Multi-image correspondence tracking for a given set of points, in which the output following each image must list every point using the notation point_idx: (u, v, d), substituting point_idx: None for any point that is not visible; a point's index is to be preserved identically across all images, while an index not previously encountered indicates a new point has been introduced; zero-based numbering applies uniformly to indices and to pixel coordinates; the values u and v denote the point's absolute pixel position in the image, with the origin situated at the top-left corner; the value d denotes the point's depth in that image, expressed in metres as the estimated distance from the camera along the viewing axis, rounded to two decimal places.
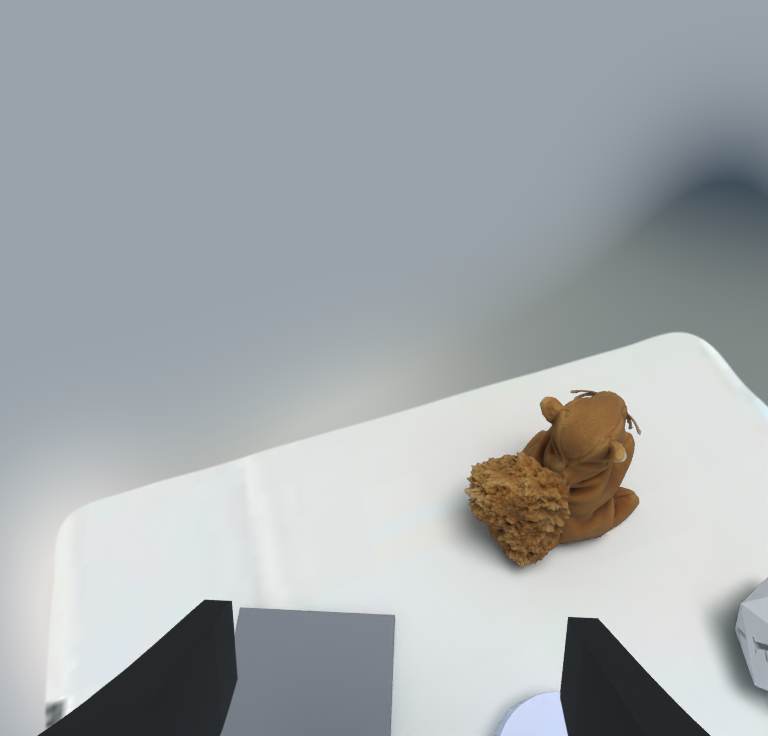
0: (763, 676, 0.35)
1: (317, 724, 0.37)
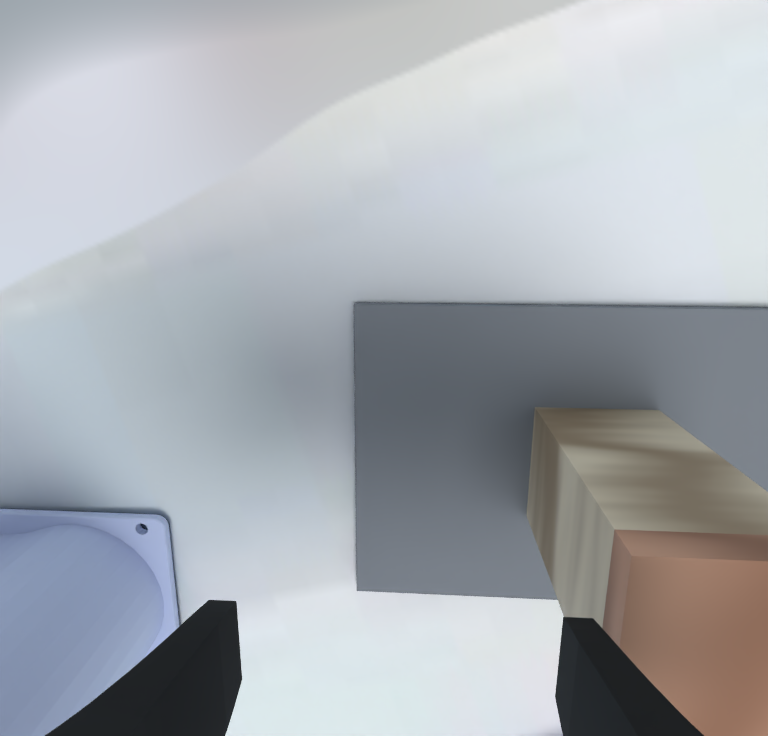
0: None
1: None
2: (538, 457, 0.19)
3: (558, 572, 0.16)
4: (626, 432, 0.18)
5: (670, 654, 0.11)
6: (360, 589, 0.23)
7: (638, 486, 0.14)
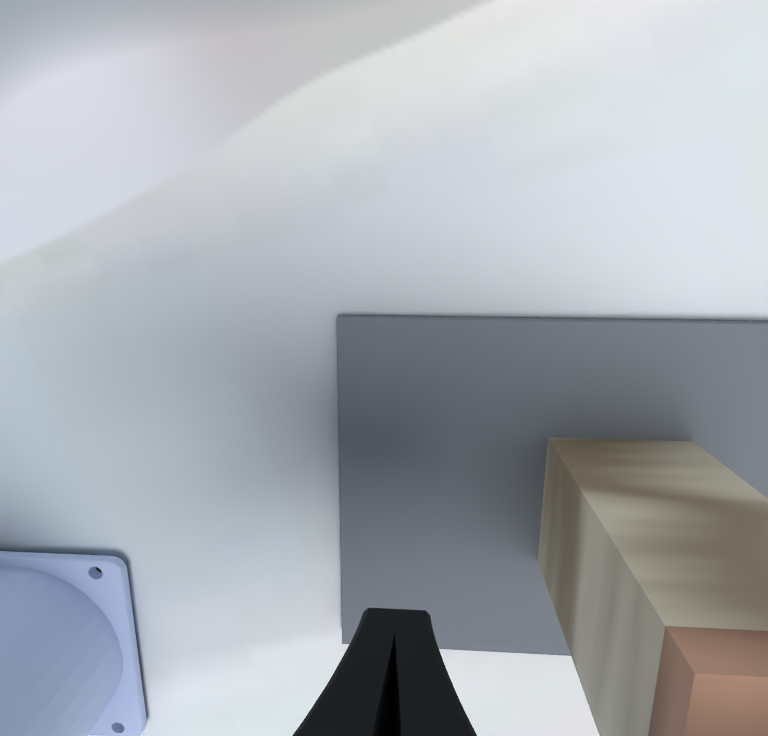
0: None
1: None
2: (553, 497, 0.17)
3: (580, 646, 0.14)
4: (660, 473, 0.15)
5: None
6: (346, 642, 0.20)
7: (686, 553, 0.11)
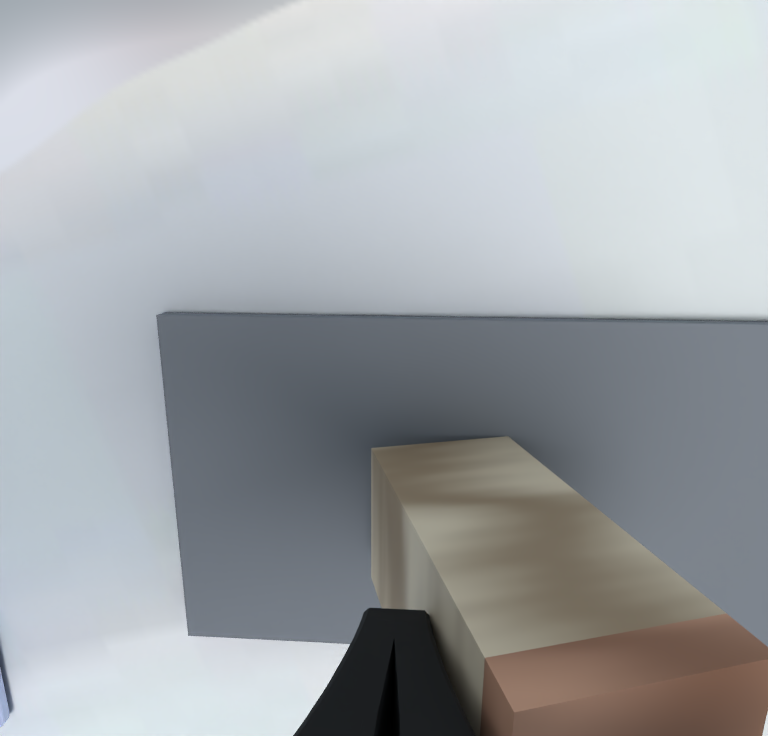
0: None
1: None
2: (379, 511, 0.16)
3: None
4: (478, 475, 0.15)
5: None
6: (192, 634, 0.20)
7: (503, 563, 0.11)
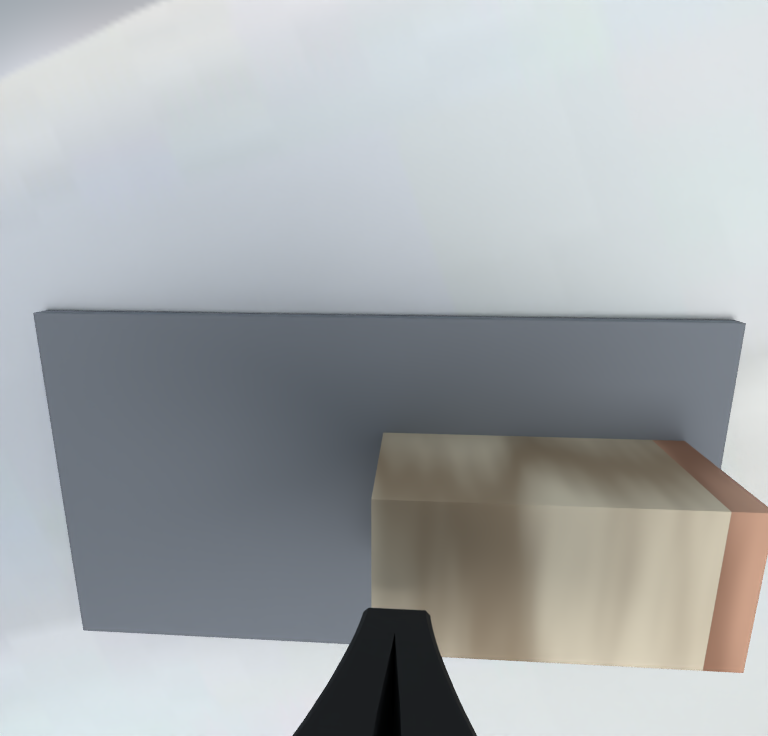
0: None
1: None
2: (416, 555, 0.14)
3: (558, 636, 0.14)
4: (464, 461, 0.15)
5: None
6: (87, 628, 0.20)
7: (615, 482, 0.14)
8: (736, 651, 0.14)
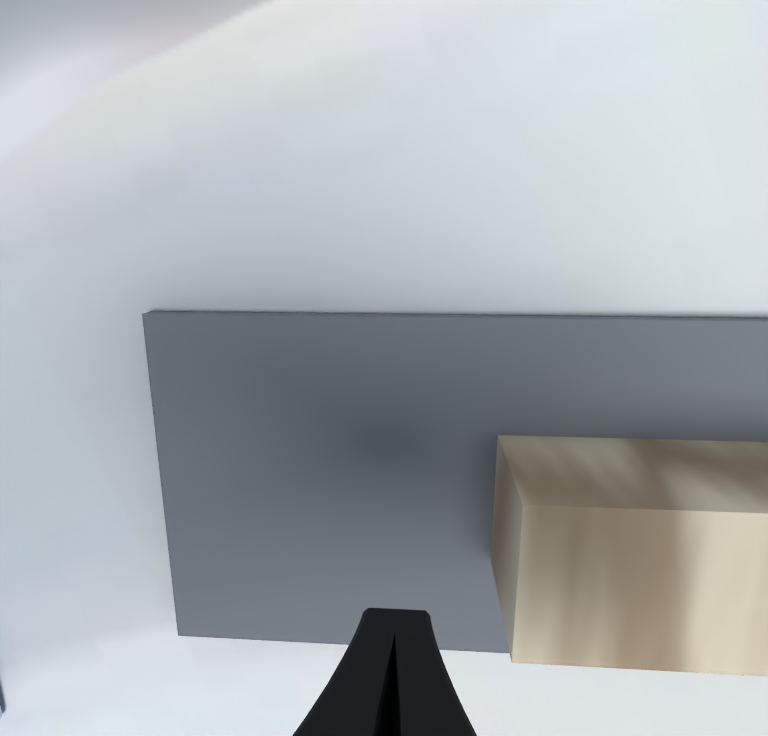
0: None
1: None
2: (566, 563, 0.13)
3: (709, 646, 0.13)
4: (597, 464, 0.15)
5: None
6: (182, 634, 0.20)
7: (766, 487, 0.14)
8: None
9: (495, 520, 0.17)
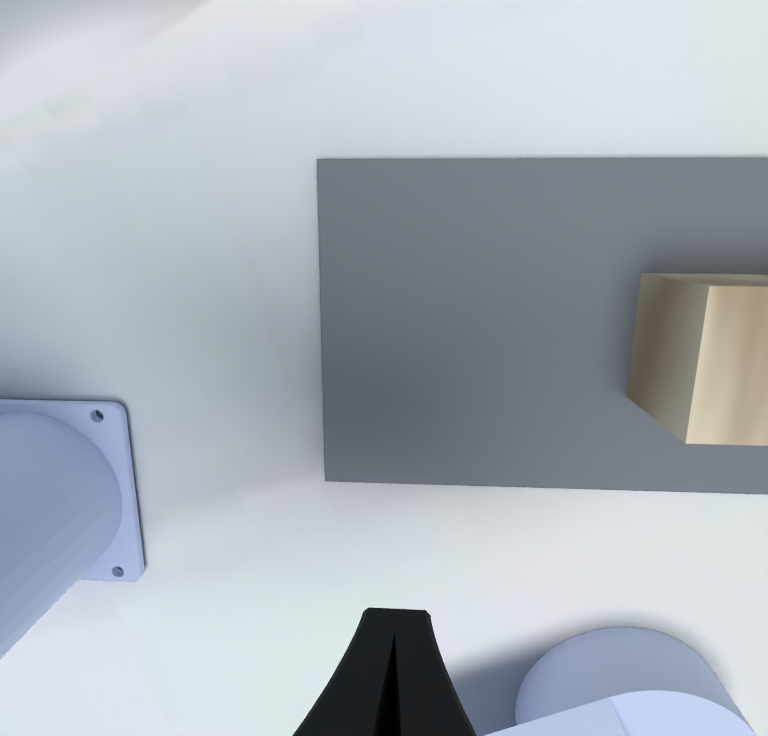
0: None
1: None
2: (743, 342, 0.15)
3: None
4: (749, 279, 0.17)
5: None
6: (328, 479, 0.21)
7: None
8: None
9: (638, 352, 0.19)
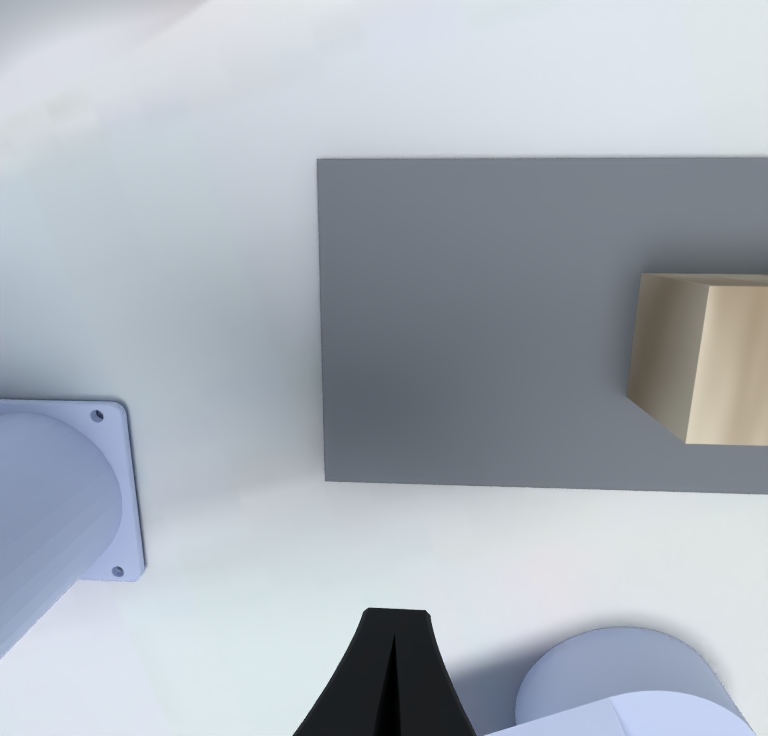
0: None
1: None
2: (743, 342, 0.15)
3: None
4: (749, 279, 0.17)
5: None
6: (328, 479, 0.21)
7: None
8: None
9: (638, 352, 0.19)
